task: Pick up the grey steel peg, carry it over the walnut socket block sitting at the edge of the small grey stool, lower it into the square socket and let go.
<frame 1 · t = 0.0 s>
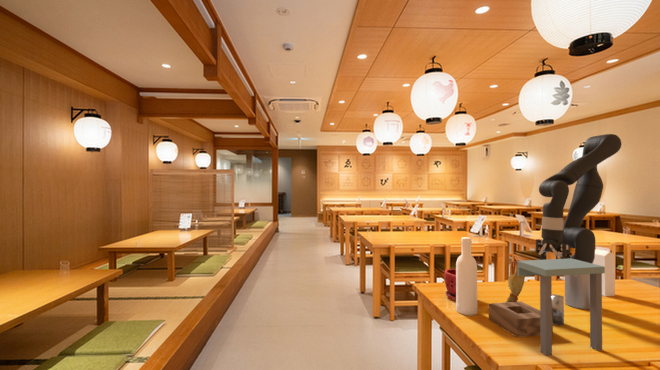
hand: (551, 266, 128), 17 cm above the table, tool pointing down, fingers open, 8 cm apart
small grey stool: (559, 344, 98), on the table
peg: (557, 323, 113), on the table
plant pot: (460, 298, 138), on the table
crab claw: (514, 310, 125), on the table
bottle: (466, 312, 124), on the table
socket block: (519, 326, 111), on the table
milk: (603, 294, 144), on the table
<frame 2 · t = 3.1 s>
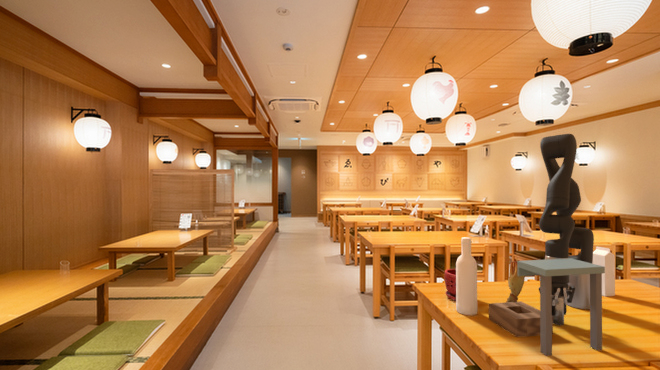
hand: (557, 314, 113), 3 cm above the table, tool pointing down, fingers closed on peg, 4 cm apart
peg: (557, 323, 113), on the table, touching gripper
everything else where it was.
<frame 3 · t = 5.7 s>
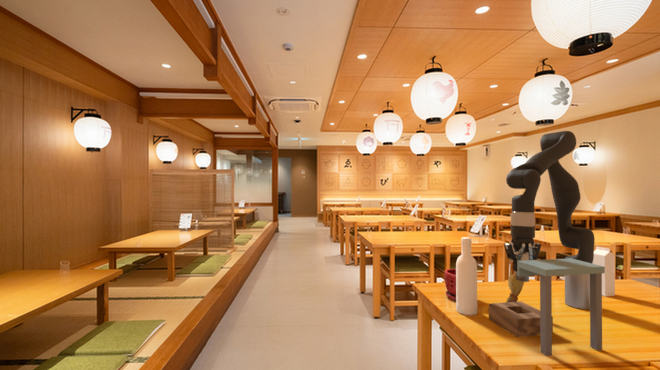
hand: (522, 271, 111), 20 cm above the table, tool pointing down, fingers closed on peg, 4 cm apart
peg: (522, 280, 111), point 17 cm above the table, touching gripper
everything else where it was.
when the fingers open (7 cm above the table, at t = 8.4 s): peg drops 3 cm, resting on socket block.
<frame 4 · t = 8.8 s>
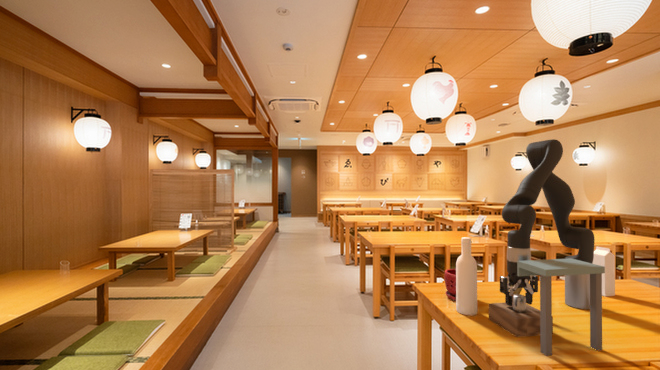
hand: (518, 304, 111), 8 cm above the table, tool pointing down, fingers open, 7 cm apart
peg: (519, 323, 111), point 1 cm above the table, touching socket block
everything else where it was.
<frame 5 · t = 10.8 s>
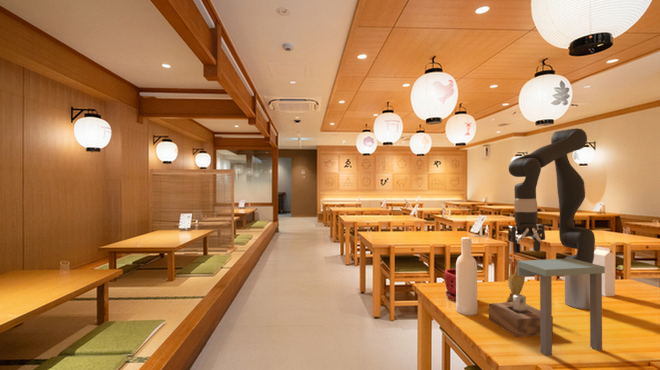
hand: (527, 252, 118), 26 cm above the table, tool pointing down, fingers open, 8 cm apart
nothing on the table moved.
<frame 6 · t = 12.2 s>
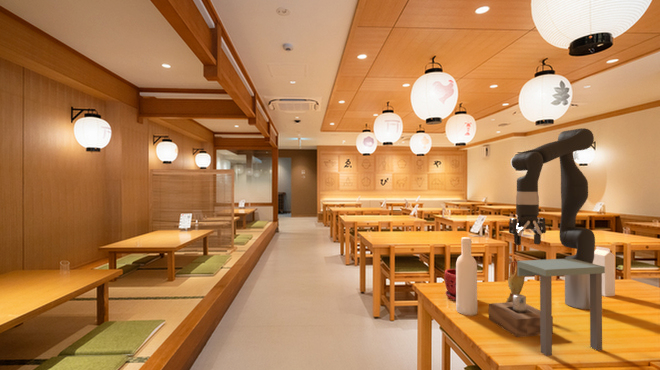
hand: (527, 244, 119), 28 cm above the table, tool pointing down, fingers open, 8 cm apart
nothing on the table moved.
at the end: peg 0.1 cm off-centre on the socket block, point 1.0 cm above the socket block's base; peg tilted 0°; the gripper is holding nothing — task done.
